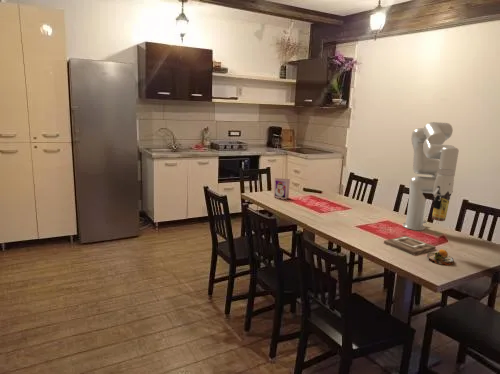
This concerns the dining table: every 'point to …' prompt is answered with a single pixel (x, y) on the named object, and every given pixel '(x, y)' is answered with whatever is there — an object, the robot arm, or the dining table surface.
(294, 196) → the dining table surface
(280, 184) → the greeting card
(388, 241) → the walnut board
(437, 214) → the sauce bottle
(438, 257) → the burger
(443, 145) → the robot arm
